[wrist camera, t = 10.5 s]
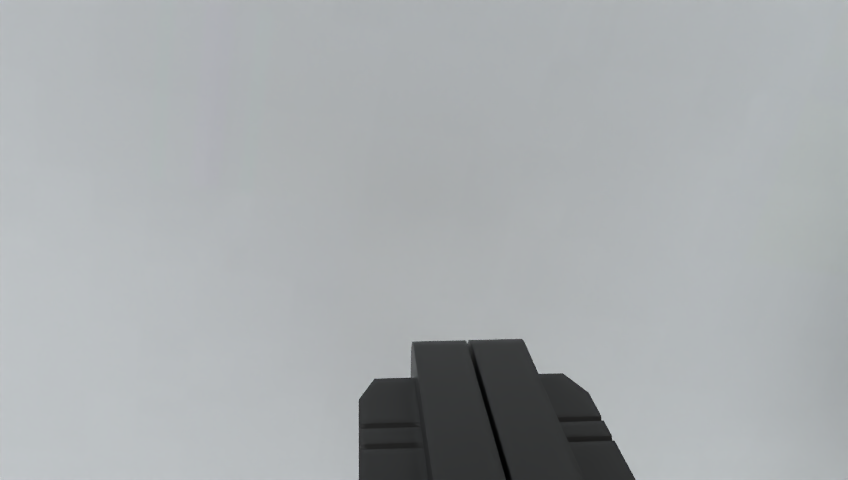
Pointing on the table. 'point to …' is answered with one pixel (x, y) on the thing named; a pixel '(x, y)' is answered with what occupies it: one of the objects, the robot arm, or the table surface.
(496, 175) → the table surface
